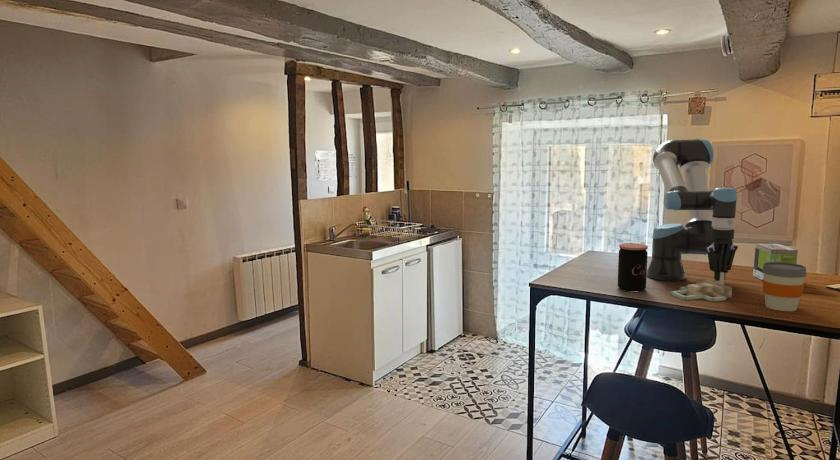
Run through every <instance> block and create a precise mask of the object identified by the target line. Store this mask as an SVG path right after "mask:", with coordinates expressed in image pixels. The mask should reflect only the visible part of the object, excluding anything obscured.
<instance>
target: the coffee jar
mask: <svg viewBox="0 0 840 460" xmlns="http://www.w3.org/2000/svg"><path fill="white" fill-rule="evenodd" d="M618 247H619V250H618V263H617V288H620V289H621V290H620V289H619V290H620V291H623V290H625V291H624V292H627V291H642V292H644V291H645V290H646V288H647V278H648V276H647V270H648V251H647V250H648V247H649V246H648V245H646V244H644V243H643V244H642V243H635V242H632V243H629V242H627V243H624V242H623V243H620V244H619V245H618ZM643 290H644V291H643Z"/></svg>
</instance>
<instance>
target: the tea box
mask: <svg viewBox="0 0 840 460" xmlns="http://www.w3.org/2000/svg"><path fill="white" fill-rule="evenodd" d="M797 260H798V249H795V248H793V247H790V246H787V245H785V244H784V245H783V244H779V243H755V248H754V261H753V270H752V271H753V273H752V276H753V277H754V278H757V279H759V280H761V281H762V279H764V276H763V272H762V270H763V265H764V263H767V262H785V263H793V264H798V263H797Z"/></svg>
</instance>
